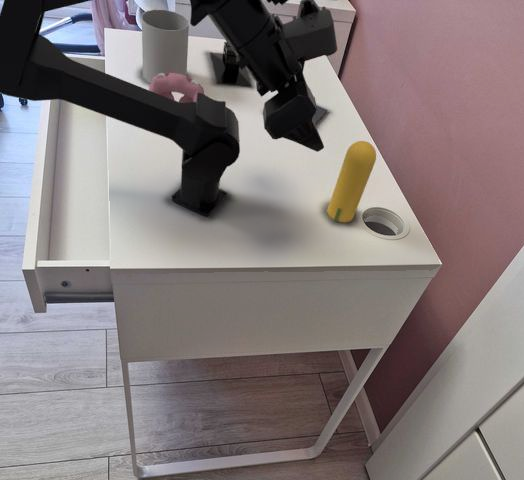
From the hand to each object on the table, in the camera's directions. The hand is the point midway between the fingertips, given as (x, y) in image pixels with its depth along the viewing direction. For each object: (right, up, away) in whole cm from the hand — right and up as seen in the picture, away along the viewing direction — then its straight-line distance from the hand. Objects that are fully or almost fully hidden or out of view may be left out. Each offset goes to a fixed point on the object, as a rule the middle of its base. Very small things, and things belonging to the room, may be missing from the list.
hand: (316, 130), depth 69 cm
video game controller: (-23, +13, +22) cm, 34 cm away
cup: (-27, +23, +28) cm, 45 cm away
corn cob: (+5, -8, +12) cm, 15 cm away
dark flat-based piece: (-14, +27, +34) cm, 46 cm away
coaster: (-1, +16, +29) cm, 33 cm away
